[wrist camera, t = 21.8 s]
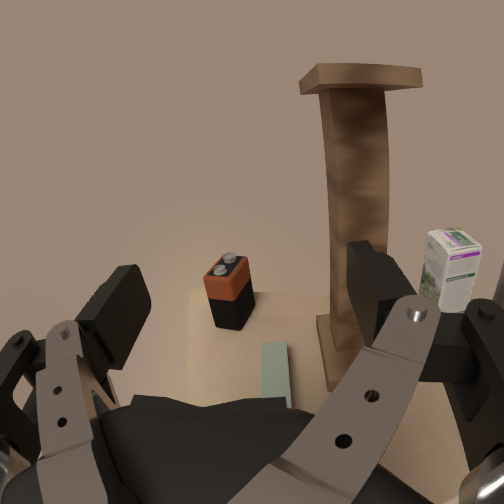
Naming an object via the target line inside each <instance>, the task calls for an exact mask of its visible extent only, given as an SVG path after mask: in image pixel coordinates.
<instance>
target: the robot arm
mask: <svg viewBox="0 0 504 504" xmlns="http://www.w3.org/2000/svg"><path fill="white" fill-rule="evenodd" d="M346 283H347V292H348V296H349V299H350V301H351V304H352V307H353V310H354V313H355V316H356V319H357V322H358V325H359V328H360V331H361V334H362V337H363V340H364V343H365V346H364V347H363V348H362V349H361V351H360V352H359V354H358V355H357V357H356V358H355V360H354V361H353V363H352V364H351V366H350V367H349V369H348V370H347V372H346V373H345V375H344V376H343V378H342V379H341V381H340V382H339V383H338V385H337V386H336V388H335V389H334V391H333V392H332V393H331V395H330V396H329V397H328V399H327V400H326V402H325V403H324V404H323V406H322V407H321V408H320V410H319V411H318V412H317V413H316V415H314V414H311V413H308V412H305V411H301V410H297V409H292V408H287V402H286V396H284V397H270V398H247V399H241V400H236V401H232V402H227V403H222V404H218V405H213V406H207V407H199V406H195V405H191V404H187V403H184V402H181V401H177V400H174V399H170V398H167V397H155V396H144V395H134V396H133V398H132V401H131V404H130V405H128V406H124V407H121V406H120V404H119V401H118V398H117V395H116V393H115V390H114V387H113V384H112V381H111V378H110V376H109V375H108V373H107V372H108V370H109V369H115V370H122V368H123V366H124V364H125V362H126V360H127V358H128V356H129V354H130V352H131V350H132V348H133V345H134V343H135V341H136V339H137V337H138V335H139V333H140V331H141V329H142V327H143V325H144V323H145V321H146V319H147V317H148V315H149V313H150V310H151V298H150V295H149V292H148V290H147V287H146V284H145V282H144V279H143V276H142V273H141V271H140V268H139V267H138V266H137V265H136V264H134V265H124V266H118V267H117V268H116V270H115V271H114V272H113V273H112V275H111V276H110V277H109V279H108V280H107V281H106V282H105V283H103V284H102V285H101V286H100V287H99V288H98V289H97V291H96V292H95V293H94V295H93V296H92V297H91V298H90V300H89V302H87V304H86V305H85V306H84V308H83V309H82V310H81V312H80V313H79V314H78V316H77V317H76V318H75V320H66V321H63V322H60V323H58V324H57V325H55V326H54V327H53V328H52V329H51V330H50V331H49V332H48V334H47V336H46V339H43V340H38V341H36V340H35V338H34V337H33V335H32V334H31V332H30V331H28V330H23V331H20V332H18V333H16V334H15V335H13V336H12V337H11V338H10V339H9V340H8V342H7V343H6V344H5V346H4V347H3V349H2V350H1V352H0V504H434V503H432V502H431V501H429V500H428V499H426V498H425V497H423V496H422V495H421V494H419V493H418V492H416V491H415V490H414V489H412V488H411V487H409V486H408V485H407V484H405V483H404V482H403V481H401V480H400V479H399V478H397V477H396V476H395V475H393V474H392V473H391V472H389V471H388V470H387V469H385V468H384V467H383V466H382V465H380V464H379V463H378V462H379V461H380V459H381V457H382V455H383V454H384V452H385V450H386V448H387V446H388V445H389V443H390V441H391V439H392V437H393V435H394V433H395V431H396V429H397V427H398V425H399V423H400V421H401V419H402V417H403V415H404V413H405V411H406V409H407V406H408V404H409V402H410V400H411V397H412V395H413V393H414V390H415V388H416V386H417V383H418V381H419V382H443V385H444V387H445V390H446V393H447V396H448V399H449V402H450V404H451V407H452V410H453V414H454V417H455V420H456V423H457V426H458V430H459V433H460V436H461V440H462V443H463V447H464V451H465V455H466V459H467V463H468V467H469V471H470V472H469V473H468V474H467V476H466V477H465V478H464V480H463V481H462V483H461V486H460V489H459V504H504V262H503V267H502V270H501V274H500V277H499V281H498V284H497V288H496V292H495V294H494V297H493V300H492V301H491V300H488V299H480V298H479V299H474V300H472V301H470V302H469V303H468V304H467V306H466V310H465V313H447V312H441V311H440V308H439V306H438V305H437V304H436V303H435V302H434V301H433V300H431V299H430V298H427V297H424V296H420V295H417V293H416V292H415V290H414V289H413V287H412V286H411V284H410V283H409V281H408V280H407V278H406V277H405V275H404V274H403V272H402V271H401V269H400V268H398V265H397V264H396V262H395V261H394V259H393V258H392V257H390V256H389V255H387V254H386V253H384V252H376V251H375V250H374V248H373V247H372V245H371V244H370V242H369V241H368V240H362V241H353V242H348V243H347V271H346ZM22 375H23V376H24V377H25V378H26V380H27V381H28V382H29V383H30V385H31V386H32V387H33V390H32V392H31V394H30V396H29V398H28V399H27V402H26V404H25V405H24V407H23V409H22V410H21V409H20V408H19V407H18V406H17V405H16V404H15V402H14V400H13V390H14V388H15V387H16V384H17V383H18V381H19V379H20V378H21V376H22ZM41 450H42V456H41V458H39V459H38V457H39V454H40V451H41ZM37 459H38V461H37Z"/></svg>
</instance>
